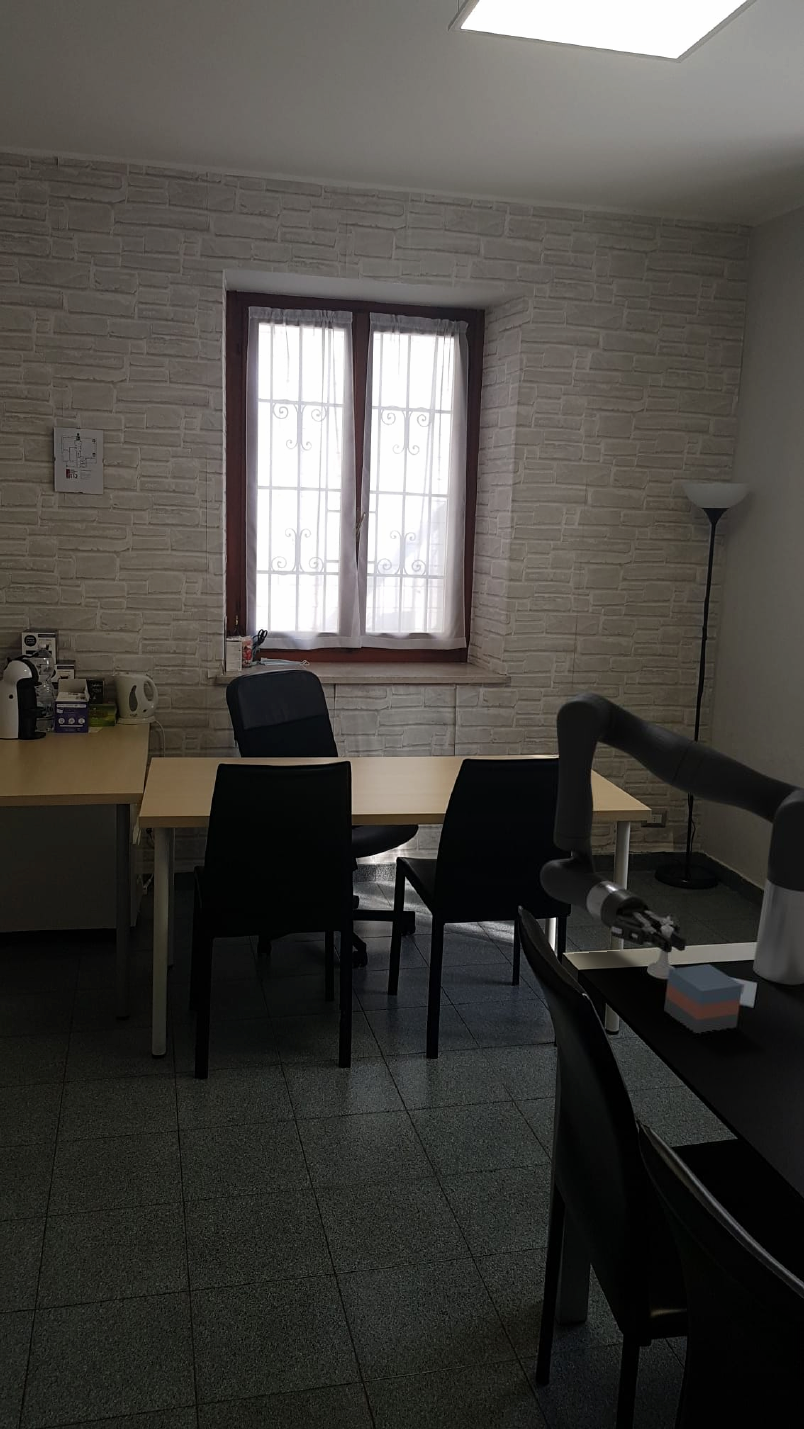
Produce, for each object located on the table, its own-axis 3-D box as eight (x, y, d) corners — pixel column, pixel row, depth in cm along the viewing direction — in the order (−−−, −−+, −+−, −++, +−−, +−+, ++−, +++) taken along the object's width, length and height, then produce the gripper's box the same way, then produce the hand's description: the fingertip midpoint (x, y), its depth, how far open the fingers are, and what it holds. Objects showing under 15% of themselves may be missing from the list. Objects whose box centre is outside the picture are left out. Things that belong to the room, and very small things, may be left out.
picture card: (715, 975, 188) (715, 973, 188) (756, 984, 186) (757, 982, 186) (709, 998, 179) (710, 995, 179) (753, 1008, 177) (753, 1005, 177)
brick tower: (663, 1010, 173) (669, 969, 172) (703, 1004, 177) (709, 964, 175) (695, 1033, 166) (701, 991, 165) (736, 1027, 170) (742, 985, 168)
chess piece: (669, 982, 177) (676, 925, 175) (642, 972, 180) (648, 917, 178) (681, 972, 181) (688, 917, 179) (654, 963, 184) (660, 909, 182)
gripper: (586, 891, 189) (645, 929, 173) (650, 885, 194) (713, 920, 179) (582, 931, 190) (640, 972, 175) (646, 923, 196) (708, 962, 180)
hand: (676, 946), depth 177 cm, fingers closed on chess piece
